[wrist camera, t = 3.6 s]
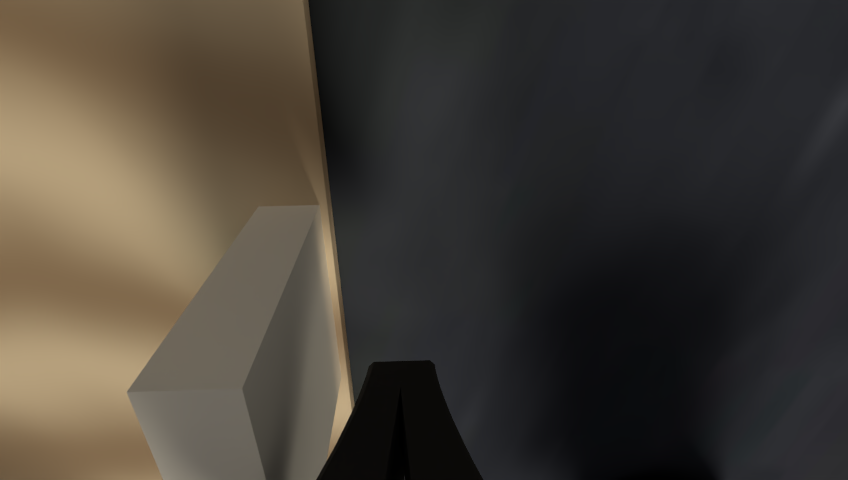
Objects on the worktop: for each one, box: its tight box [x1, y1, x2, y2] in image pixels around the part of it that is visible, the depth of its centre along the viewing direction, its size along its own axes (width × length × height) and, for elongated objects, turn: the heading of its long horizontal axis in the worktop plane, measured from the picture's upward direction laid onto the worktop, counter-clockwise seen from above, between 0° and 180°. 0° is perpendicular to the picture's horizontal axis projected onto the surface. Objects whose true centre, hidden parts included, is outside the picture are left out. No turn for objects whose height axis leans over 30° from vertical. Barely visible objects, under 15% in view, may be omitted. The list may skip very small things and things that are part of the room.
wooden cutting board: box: [0, 0, 354, 480], centre depth 14 cm, size 18×14×1 cm
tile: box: [127, 205, 341, 480], centre depth 11 cm, size 6×2×6 cm, turn 1°
